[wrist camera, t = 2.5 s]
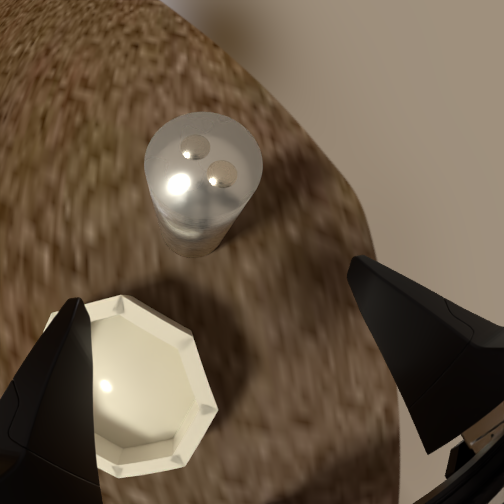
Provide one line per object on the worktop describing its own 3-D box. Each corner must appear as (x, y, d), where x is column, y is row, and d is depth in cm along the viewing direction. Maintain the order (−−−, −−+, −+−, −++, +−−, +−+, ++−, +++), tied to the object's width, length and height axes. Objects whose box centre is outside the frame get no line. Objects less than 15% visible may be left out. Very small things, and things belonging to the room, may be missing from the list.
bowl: (226, 430, 18) (235, 453, 15) (89, 458, 15) (77, 481, 12) (177, 283, 19) (176, 279, 16) (35, 320, 16) (11, 323, 13)
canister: (232, 248, 20) (279, 200, 11) (169, 265, 19) (156, 229, 9) (215, 189, 21) (245, 102, 11) (154, 203, 20) (136, 121, 10)
